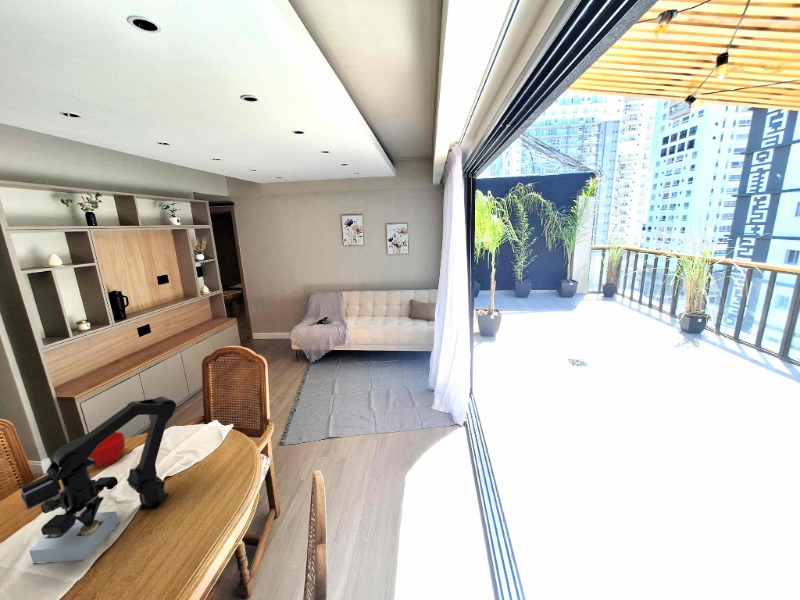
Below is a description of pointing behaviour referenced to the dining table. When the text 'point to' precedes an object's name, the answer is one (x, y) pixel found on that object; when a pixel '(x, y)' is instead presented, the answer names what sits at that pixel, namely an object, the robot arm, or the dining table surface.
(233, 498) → the dining table surface
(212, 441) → the dining table surface
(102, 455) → the ceramic cup
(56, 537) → the plunger
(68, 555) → the block
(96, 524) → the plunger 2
